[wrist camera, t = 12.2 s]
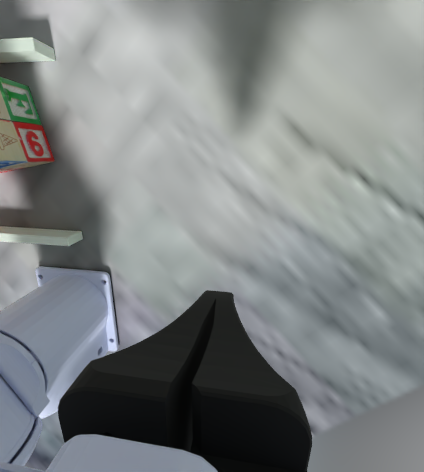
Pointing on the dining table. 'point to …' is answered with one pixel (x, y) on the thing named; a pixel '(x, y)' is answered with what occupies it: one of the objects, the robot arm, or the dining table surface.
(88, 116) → the dining table surface
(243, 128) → the dining table surface
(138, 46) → the dining table surface
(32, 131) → the stack of blocks
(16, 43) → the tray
